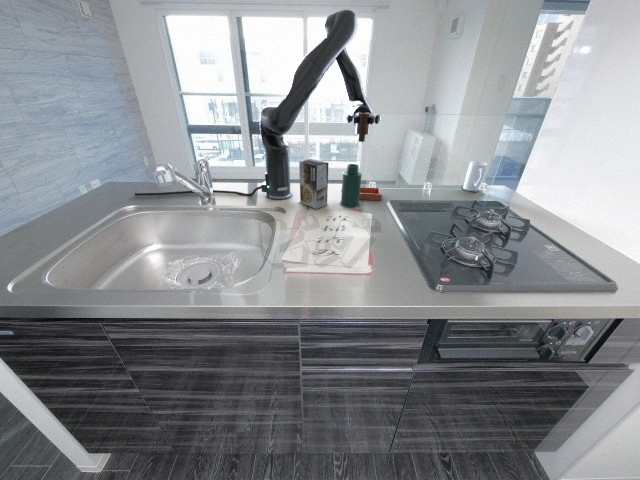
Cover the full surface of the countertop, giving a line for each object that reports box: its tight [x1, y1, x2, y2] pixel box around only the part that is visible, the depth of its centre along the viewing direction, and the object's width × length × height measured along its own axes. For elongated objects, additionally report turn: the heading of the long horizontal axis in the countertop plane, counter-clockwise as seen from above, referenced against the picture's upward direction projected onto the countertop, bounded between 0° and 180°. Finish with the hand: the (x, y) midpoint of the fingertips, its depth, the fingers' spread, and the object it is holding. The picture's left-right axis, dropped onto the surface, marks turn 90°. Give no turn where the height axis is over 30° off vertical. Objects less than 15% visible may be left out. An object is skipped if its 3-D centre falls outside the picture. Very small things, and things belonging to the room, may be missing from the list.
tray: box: [359, 186, 382, 201], centre depth 111 cm, size 9×8×2 cm
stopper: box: [355, 113, 371, 143], centre depth 92 cm, size 5×5×9 cm
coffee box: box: [298, 158, 329, 210], centre depth 99 cm, size 9×6×16 cm
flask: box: [340, 163, 363, 208], centre depth 100 cm, size 7×7×15 cm
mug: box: [462, 160, 488, 192], centre depth 119 cm, size 10×7×12 cm, turn 173°
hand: (363, 120), depth 89 cm, fingers closed on stopper, 4 cm apart
